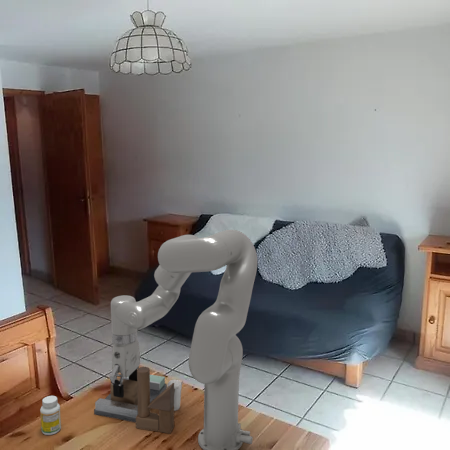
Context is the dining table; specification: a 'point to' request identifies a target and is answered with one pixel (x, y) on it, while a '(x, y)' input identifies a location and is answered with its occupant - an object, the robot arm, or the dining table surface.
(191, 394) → the dining table surface
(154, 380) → the block
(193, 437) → the dining table surface
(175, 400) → the milkshake
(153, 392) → the vise base
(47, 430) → the supplement bottle
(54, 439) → the dining table surface
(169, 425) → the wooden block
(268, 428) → the dining table surface
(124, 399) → the walnut block
